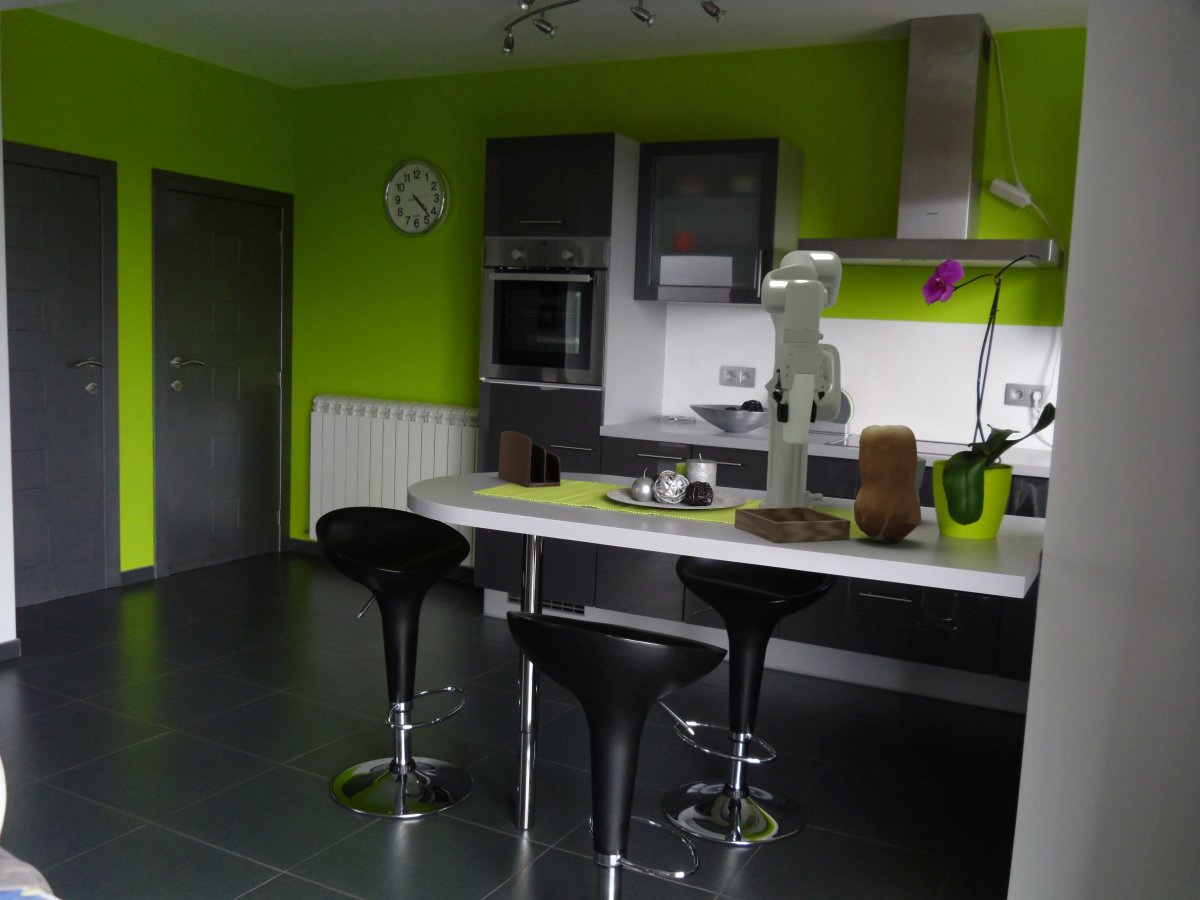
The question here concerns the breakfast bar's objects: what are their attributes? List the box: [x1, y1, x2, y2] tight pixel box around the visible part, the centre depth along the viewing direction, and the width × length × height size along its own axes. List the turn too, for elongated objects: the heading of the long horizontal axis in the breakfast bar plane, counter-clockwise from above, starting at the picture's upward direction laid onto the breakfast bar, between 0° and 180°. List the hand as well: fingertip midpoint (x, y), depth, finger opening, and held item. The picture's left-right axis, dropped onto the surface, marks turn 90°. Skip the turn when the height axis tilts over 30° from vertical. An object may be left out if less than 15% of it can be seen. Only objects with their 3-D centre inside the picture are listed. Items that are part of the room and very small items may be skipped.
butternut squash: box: [853, 424, 922, 545], centre depth 228 cm, size 14×13×25 cm
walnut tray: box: [734, 507, 852, 544], centre depth 236 cm, size 18×18×4 cm
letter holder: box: [497, 430, 562, 489], centre depth 299 cm, size 10×20×14 cm, turn 29°
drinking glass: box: [783, 374, 815, 444], centre depth 233 cm, size 7×7×15 cm
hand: (796, 421), depth 233 cm, fingers closed on drinking glass, 6 cm apart
